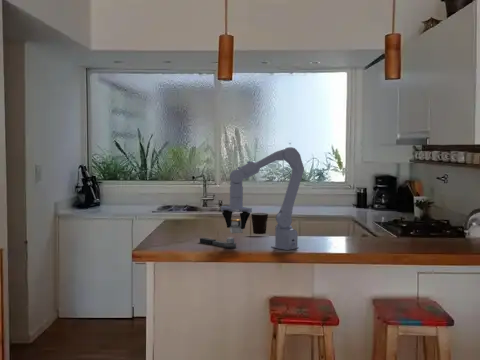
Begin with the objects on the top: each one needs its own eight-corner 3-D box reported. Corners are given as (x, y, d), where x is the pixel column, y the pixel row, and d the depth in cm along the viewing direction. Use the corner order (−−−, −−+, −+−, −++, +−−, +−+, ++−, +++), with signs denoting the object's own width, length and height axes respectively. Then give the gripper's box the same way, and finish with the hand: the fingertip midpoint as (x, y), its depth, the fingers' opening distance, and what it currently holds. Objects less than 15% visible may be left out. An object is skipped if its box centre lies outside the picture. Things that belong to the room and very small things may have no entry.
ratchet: (238, 247, 240) (238, 238, 240) (230, 249, 236) (230, 239, 236) (206, 241, 255) (206, 232, 255) (197, 242, 252) (197, 233, 252)
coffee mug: (261, 235, 276) (261, 215, 275) (247, 233, 281) (247, 213, 280) (274, 232, 285) (274, 213, 284) (260, 230, 290) (260, 211, 290)
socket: (242, 232, 238) (242, 220, 238) (232, 233, 237) (232, 220, 237) (239, 231, 243) (239, 218, 243) (229, 231, 242) (229, 219, 242)
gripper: (255, 197, 239) (254, 228, 240) (226, 195, 246) (226, 225, 247) (247, 198, 233) (247, 230, 234) (218, 196, 240) (218, 227, 241)
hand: (235, 228), depth 240 cm, fingers closed on socket, 6 cm apart
